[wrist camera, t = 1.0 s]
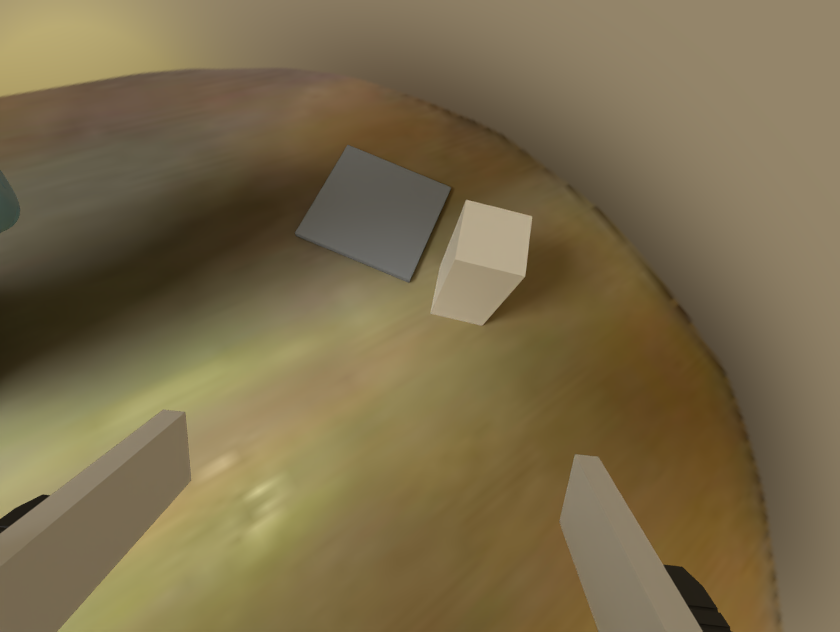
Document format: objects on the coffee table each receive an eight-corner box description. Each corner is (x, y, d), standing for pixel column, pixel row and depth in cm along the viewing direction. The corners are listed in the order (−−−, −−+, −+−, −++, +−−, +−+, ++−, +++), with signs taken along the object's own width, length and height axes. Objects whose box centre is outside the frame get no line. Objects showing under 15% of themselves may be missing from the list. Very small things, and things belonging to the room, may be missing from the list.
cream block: (430, 313, 45) (454, 259, 33) (439, 266, 47) (466, 199, 35) (482, 325, 46) (525, 276, 33) (489, 278, 48) (532, 216, 36)
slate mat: (295, 235, 46) (294, 232, 46) (347, 148, 51) (347, 144, 51) (409, 282, 46) (409, 280, 46) (450, 190, 51) (451, 187, 51)
